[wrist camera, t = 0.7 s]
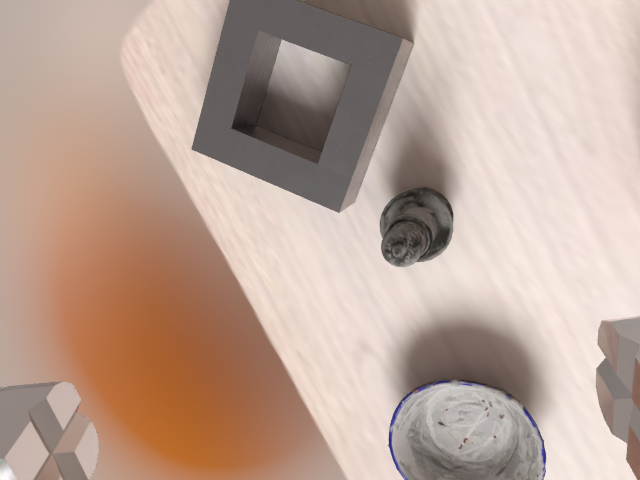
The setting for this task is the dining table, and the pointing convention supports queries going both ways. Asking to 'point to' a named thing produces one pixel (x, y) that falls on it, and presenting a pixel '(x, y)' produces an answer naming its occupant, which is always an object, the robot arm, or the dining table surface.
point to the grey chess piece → (415, 227)
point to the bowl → (465, 434)
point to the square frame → (252, 81)
